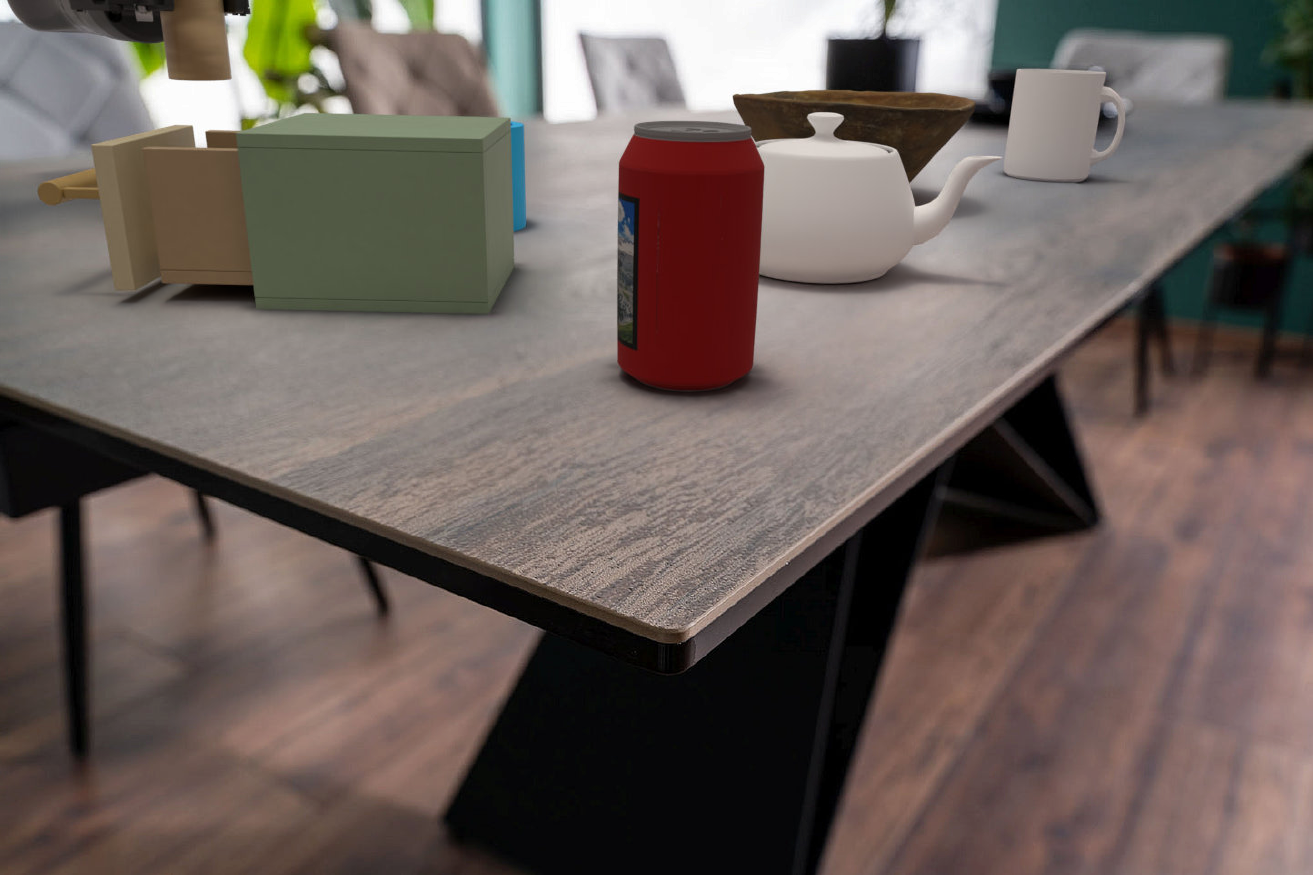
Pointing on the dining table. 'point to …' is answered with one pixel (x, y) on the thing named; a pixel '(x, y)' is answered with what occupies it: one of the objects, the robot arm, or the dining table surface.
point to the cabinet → (378, 212)
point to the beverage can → (688, 254)
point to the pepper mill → (196, 41)
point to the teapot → (845, 206)
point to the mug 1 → (518, 175)
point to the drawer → (166, 207)
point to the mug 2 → (1058, 124)
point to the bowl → (862, 119)
